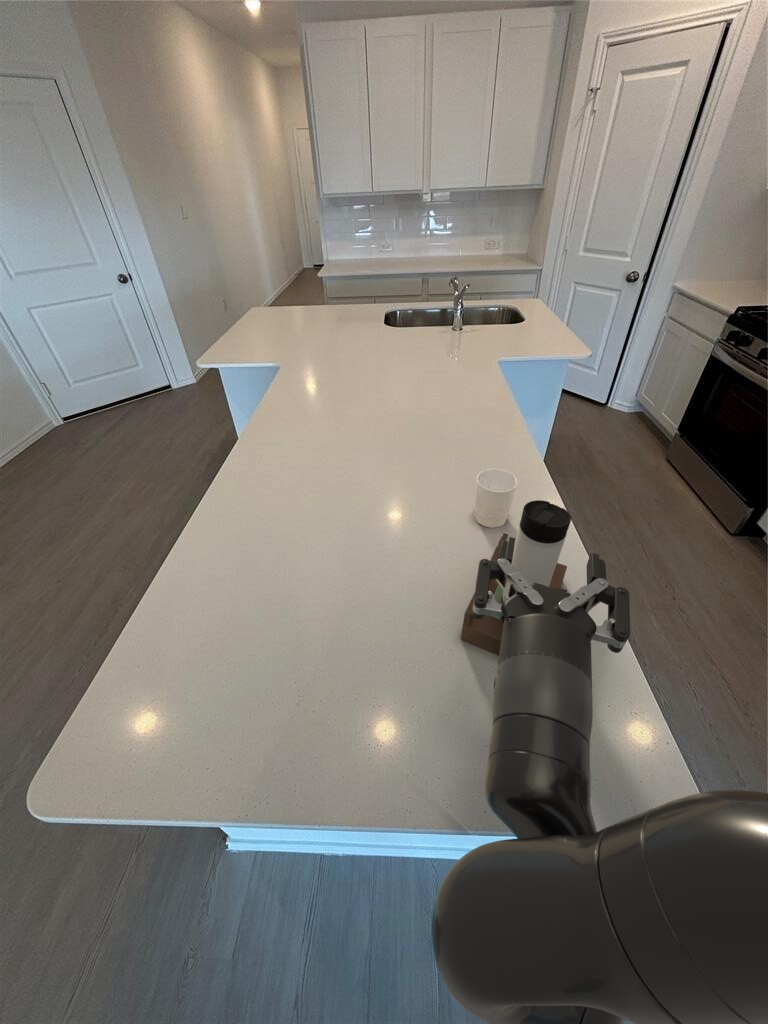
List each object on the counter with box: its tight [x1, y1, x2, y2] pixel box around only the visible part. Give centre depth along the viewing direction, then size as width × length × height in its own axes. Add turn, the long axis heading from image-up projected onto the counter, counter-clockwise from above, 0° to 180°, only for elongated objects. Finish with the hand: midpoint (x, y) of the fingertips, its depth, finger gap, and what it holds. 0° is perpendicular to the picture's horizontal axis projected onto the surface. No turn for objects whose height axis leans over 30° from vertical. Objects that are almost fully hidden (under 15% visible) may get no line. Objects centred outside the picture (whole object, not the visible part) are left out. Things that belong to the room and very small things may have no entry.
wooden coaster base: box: [460, 532, 568, 656], centre depth 73 cm, size 12×20×7 cm, turn 152°
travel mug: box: [502, 499, 572, 604], centre depth 65 cm, size 6×7×20 cm
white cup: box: [474, 468, 518, 529], centre depth 90 cm, size 8×8×10 cm
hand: (550, 550), depth 48 cm, fingers open, 8 cm apart
